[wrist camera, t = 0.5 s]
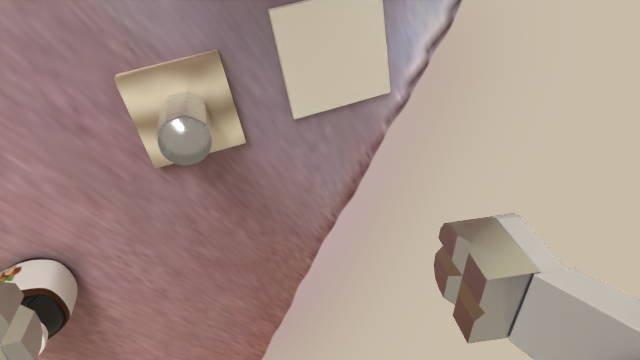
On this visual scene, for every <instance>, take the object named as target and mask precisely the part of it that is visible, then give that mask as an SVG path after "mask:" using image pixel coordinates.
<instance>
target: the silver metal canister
mask: <svg viewBox="0 0 640 360" xmlns="http://www.w3.org/2000/svg"><path fill="white" fill-rule="evenodd" d="M156 139H157V141H158V146H159V149H160V151H161V153H162V155H163V156H164V157H165V158H166V159H168V160H169V161H171V162H173V163H175V164H178V165H193V164H196V163H199V162H200V161H202V160H203V159H205V158H206V156H207V155H208V154H209V152H210V150H211V146H212V144H213V135H212V128H211V120H210V115H209V112H208V109H207V106H206V103H205V100H204V99H203V98H201V97H199V96H197V95H195V94H193V93H191V92H189V91H183V92H179V93H175V94H171V95H168V96H167V98H166V100H165V102H164V104H163V106H162V108H161V110H160V113H159V120H158V127H157V134H156Z"/></svg>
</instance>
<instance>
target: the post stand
mask: <svg viewBox="0 0 640 360" xmlns="http://www.w3.org/2000/svg"><path fill="white" fill-rule="evenodd" d="M114 81H115V83H116V85H117V88H118V90H119V92H120V94H121V96H122V98H123V100H124V103H125V105H126V107H127V109H128V111H129V113H130V116H131V118H132V120H133V122H134V124H135V126H136V129H137V131H138V133H139V135H140V137H141V139H142V142H143V144H144V146H145V148H146V150H147V152H148V155H149V157H150V159H151V161H152V163H153V165H154V168H155V169H156V168H159V167H163V166H166V165H170V164H174V163H173V162H171V161H169V160H168V159H166V158H165V157H164V156H163V155H162V153H161V151H160V149H159V146H158V141H157V139H156V134H157V127H158V120H159V113H160V110H161V108H162V106H163V104H164V102H165V100H166V98H167V96H168V95H171V94H175V93H179V92H183V91H189V92H191V93H193V94H195V95H197V96H199V97H201V98H203V99H204V100H205V103H206V106H207V109H208V112H209V115H210V120H211V128H212V135H213V144H212V146H211V150H210V152H209V153H212V152H216V151H219V150H223V149H226V148H230V147H233V146H237V145H240V144H244V143H246V140H245V137H244V133H243V130H242V127H241V124H240V120H239V117H238V114H237V111H236V108H235V104H234V101H233V98H232V95H231V91H230V88H229V85H228V82H227V78H226V75H225V72H224V69H223V65H222V62H221V59H220V56H219V52H218V49H215V50H211V51H207V52H203V53H199V54H195V55H191V56H187V57H183V58H179V59H175V60H171V61H167V62H163V63H159V64H155V65H151V66H147V67H143V68H139V69H135V70H131V71H127V72H123V73H119V74H116V76H115V78H114Z"/></svg>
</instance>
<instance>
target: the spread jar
mask: <svg viewBox="0 0 640 360" xmlns="http://www.w3.org/2000/svg"><path fill="white" fill-rule="evenodd" d="M4 282H8V283H16V285H17V286H18V287H19V289H20V290H21V291H22V293H23V294H24V297H23V300H22V302H21V305H23V306H25V307H27V308H29V309H31V310H33V311H35V313H36V314H37V316H38V318H39V319H40V322H41V326H42V330H43V334H42V345H41V349H40V352H39V354H40V353H41V352H42V351H43V350H44V347H45V345H46V342H47V340H48V339H49V338H51V337H52V336H54V335H55V334H56V333H57V332H59V331H60V330H61V329H62V328H63V327H64V326H65V325H66V323H67V322H68V320H69V319H70V317H71V314H72V312H73V309H74V305H75V302H76V298H77V293H78V289H77V283H76V280H75V278H74V276H73V274H72V273H71V272H70V270H69V269H68V268H67V267H66V266H65V265H63V264H62V263H61V262H59V261H57V260H55V259H51V258H44V257H36V258H29V259H25V260H22V261H20V262H18V263H16V264H14V265H12V266H10V267H9V268H7V269H5V270H4V271H3V272H1V273H0V283H4ZM39 354H38V355H39Z"/></svg>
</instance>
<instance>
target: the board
mask: <svg viewBox="0 0 640 360" xmlns="http://www.w3.org/2000/svg"><path fill="white" fill-rule="evenodd" d="M268 13H269V17H270V21H271V26H272V30H273V35H274V39H275V43H276V48H277V52H278V56H279V61H280V65H281V69H282V74H283V78H284V82H285V87H286V91H287V95H288V100H289V104H290V108H291V113H292V117H293V118H294V119H298V118H301V117H305V116H308V115H312V114H315V113H319V112H323V111H326V110H330V109H333V108H337V107H340V106H344V105H348V104H351V103H355V102H358V101H362V100H365V99H369V98H372V97H376V96H380V95H383V94H387V93H390V80H389V68H388V56H387V45H386V33H385V21H384V10H383V0H304V1H300V2H296V3H292V4H288V5H283V6H279V7H275V8H271V9H268Z"/></svg>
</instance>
